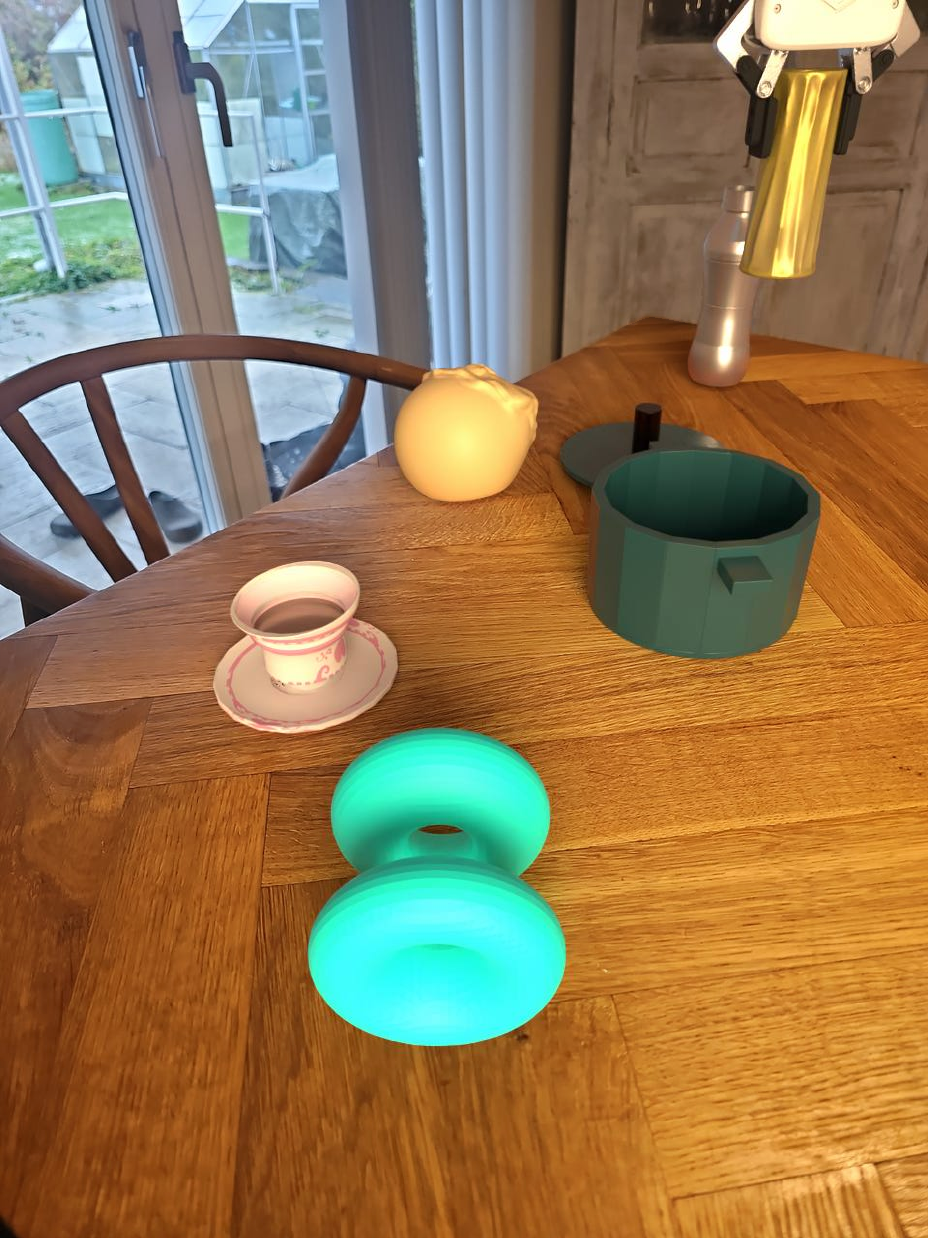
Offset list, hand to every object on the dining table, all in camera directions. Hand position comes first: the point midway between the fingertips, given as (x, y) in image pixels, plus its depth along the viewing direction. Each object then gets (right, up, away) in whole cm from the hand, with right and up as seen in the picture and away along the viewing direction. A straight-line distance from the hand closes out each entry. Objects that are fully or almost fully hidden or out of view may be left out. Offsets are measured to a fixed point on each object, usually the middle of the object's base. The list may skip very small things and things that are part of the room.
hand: (796, 151), depth 66 cm
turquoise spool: (-27, -52, -27) cm, 64 cm away
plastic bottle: (+3, -10, +30) cm, 32 cm away
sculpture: (-26, -25, +11) cm, 37 cm away
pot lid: (-9, -22, +13) cm, 27 cm away
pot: (-10, -35, -5) cm, 37 cm away
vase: (0, -7, +5) cm, 9 cm away
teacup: (-36, -40, -10) cm, 55 cm away
